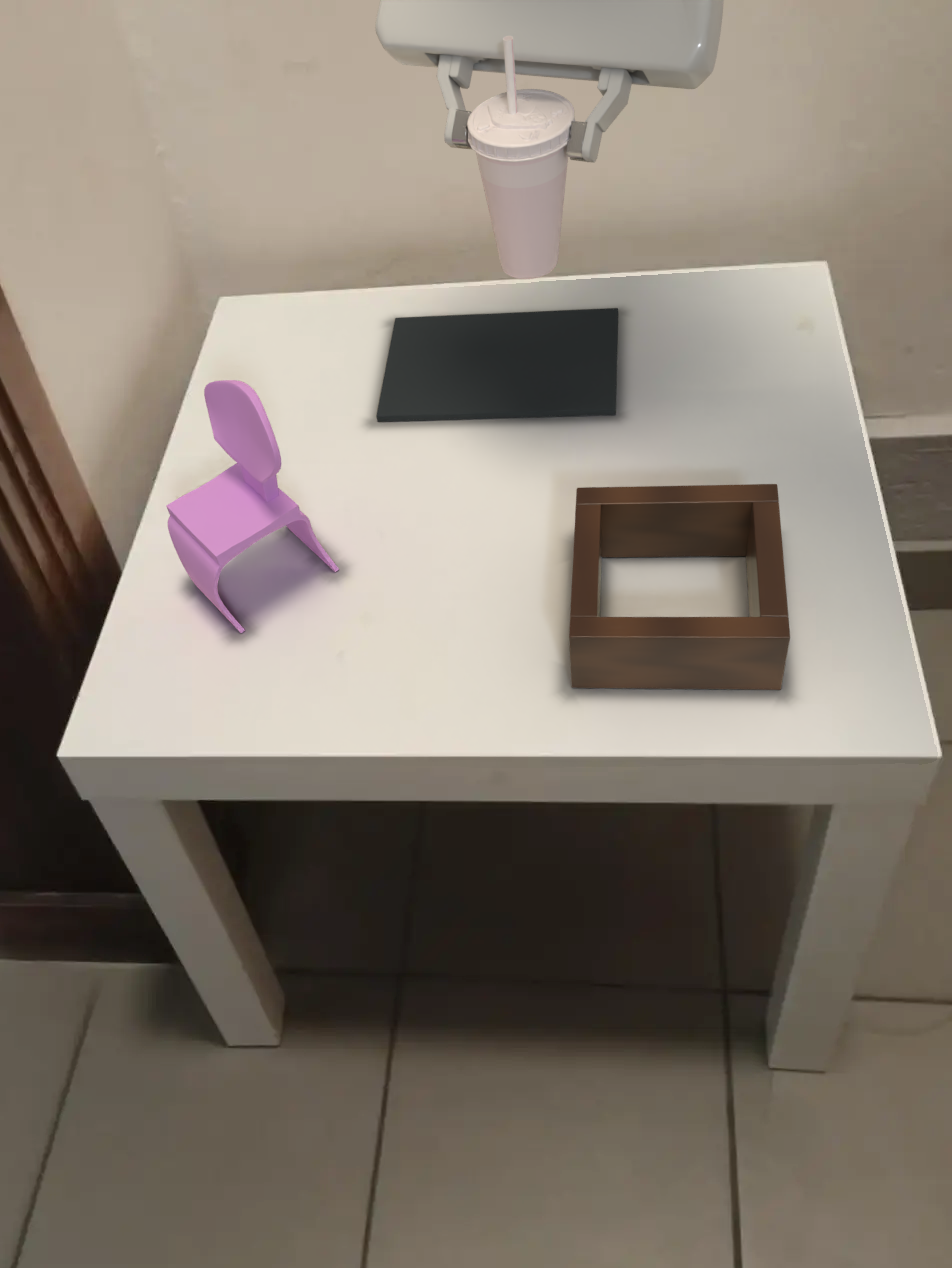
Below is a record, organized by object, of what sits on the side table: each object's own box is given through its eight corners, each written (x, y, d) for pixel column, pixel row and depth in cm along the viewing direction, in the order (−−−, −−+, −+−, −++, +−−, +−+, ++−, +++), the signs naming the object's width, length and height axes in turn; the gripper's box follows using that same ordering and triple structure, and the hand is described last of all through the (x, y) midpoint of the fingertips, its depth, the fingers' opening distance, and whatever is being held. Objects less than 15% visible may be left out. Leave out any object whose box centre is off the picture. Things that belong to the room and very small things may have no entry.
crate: (769, 538, 81) (777, 483, 77) (780, 690, 74) (790, 637, 70) (578, 540, 83) (576, 487, 79) (571, 688, 76) (569, 637, 72)
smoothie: (518, 222, 82) (504, 3, 70) (598, 249, 79) (597, 25, 68) (460, 274, 79) (435, 55, 68) (540, 303, 76) (529, 80, 65)
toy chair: (180, 579, 86) (110, 413, 74) (282, 516, 89) (230, 345, 76) (242, 646, 82) (178, 481, 70) (348, 577, 84) (303, 406, 72)
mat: (618, 313, 97) (618, 307, 96) (615, 415, 90) (615, 408, 90) (396, 323, 100) (394, 317, 100) (377, 422, 93) (375, 416, 93)
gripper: (382, -138, 70) (340, 120, 73) (738, -128, 63) (676, 154, 66) (422, -86, 76) (382, 150, 79) (752, -73, 69) (694, 185, 72)
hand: (519, 152), depth 72 cm, fingers closed on smoothie, 6 cm apart
